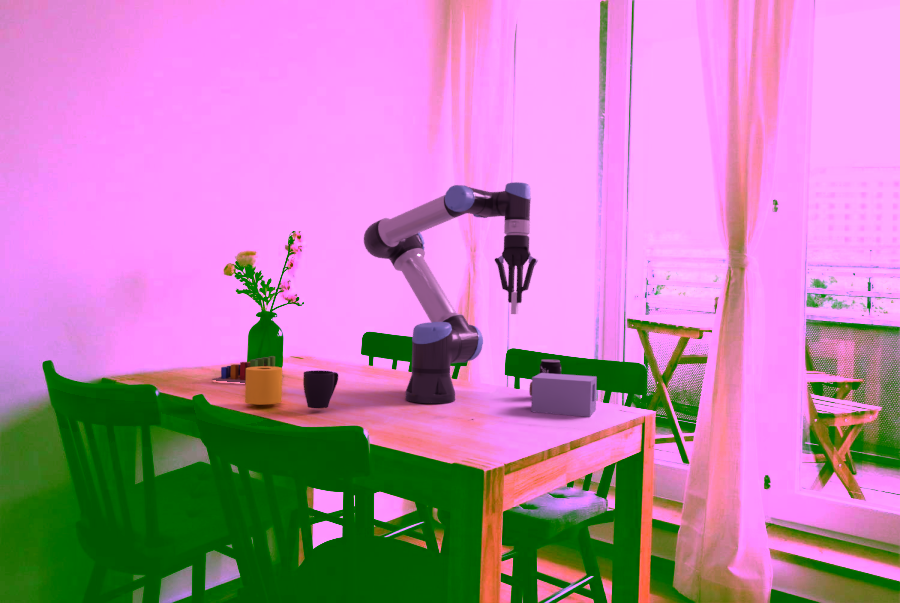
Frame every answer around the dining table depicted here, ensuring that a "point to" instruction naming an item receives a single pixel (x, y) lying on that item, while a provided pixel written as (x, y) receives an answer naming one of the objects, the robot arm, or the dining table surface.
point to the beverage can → (550, 366)
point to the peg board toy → (243, 369)
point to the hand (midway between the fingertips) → (514, 313)
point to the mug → (319, 387)
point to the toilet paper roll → (263, 385)
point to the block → (564, 394)
